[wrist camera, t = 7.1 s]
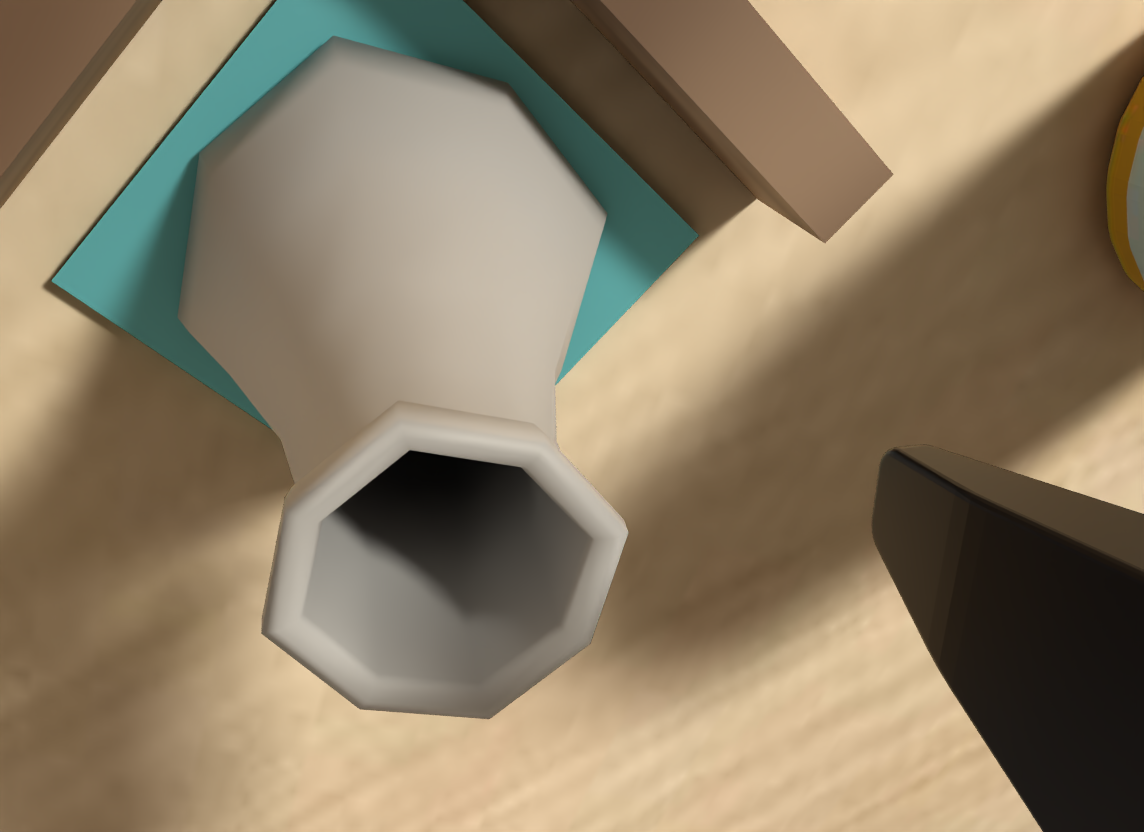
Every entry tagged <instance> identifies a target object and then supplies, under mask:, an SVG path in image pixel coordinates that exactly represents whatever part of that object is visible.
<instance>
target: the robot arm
mask: <svg viewBox="0 0 1144 832" xmlns="http://www.w3.org/2000/svg"><path fill="white" fill-rule="evenodd" d="M872 534H873V538H874V542H875V545H876V547H877V549H878V551H879V553H880V555H881V557H882V559H883V561H884V563H885V565H886V567H887V569H888V571H889V573H890V575H891V577H892V579H893V581H894V583H895V585H896V587H897V589H898V591H899V593H900V595H901V597H902V599H903V601H904V603H905V605H906V607H907V609H908V611H909V613H910V615H911V617H912V619H913V621H914V623H915V625H916V627H917V629H918V631H919V633H920V635H921V637H922V639H923V641H924V643H925V645H926V647H927V649H928V651H929V653H930V655H931V656H932V658H933V660H934V662H935V664H936V666H937V667H938V669H939V671H940V672H941V674H942V676H943V677H944V679H945V681H946V682H947V684H948V686H949V687H950V689H951V690H952V692H953V694H954V695H955V697H956V698H957V700H958V701H959V703H960V704H961V706H962V707H963V709H964V711H965V712H966V714H967V715H968V717H969V718H970V720H971V721H972V723H973V724H974V726H975V728H976V729H977V731H978V732H979V734H980V735H981V737H982V738H983V740H984V741H985V743H986V745H987V746H988V748H989V749H990V751H991V752H992V754H993V755H994V757H995V758H996V760H997V762H998V763H999V765H1000V766H1001V768H1002V769H1003V771H1004V772H1005V774H1006V775H1007V777H1008V778H1009V780H1010V782H1011V783H1012V785H1013V786H1014V788H1015V789H1016V791H1017V792H1018V794H1019V795H1020V797H1021V799H1022V800H1023V802H1024V803H1025V805H1026V806H1027V808H1028V809H1029V811H1030V812H1031V814H1032V816H1033V817H1034V819H1035V820H1036V822H1037V823H1038V825H1039V826H1040V828H1041V829H1042V831H1043V832H1144V514H1142V513H1139V512H1136V511H1132V510H1129V509H1126V508H1123V507H1120V506H1117V505H1114V504H1111V503H1108V502H1104V501H1101V500H1098V499H1095V498H1092V497H1089V496H1086V495H1083V494H1080V493H1077V492H1073V491H1070V490H1067V489H1064V488H1061V487H1058V486H1055V485H1052V484H1049V483H1045V482H1042V481H1039V480H1036V479H1033V478H1030V477H1027V476H1024V475H1021V474H1017V473H1014V472H1011V471H1008V470H1005V469H1002V468H999V467H996V466H993V465H989V464H986V463H983V462H980V461H977V460H974V459H971V458H968V457H965V456H962V455H958V454H955V453H952V452H949V451H946V450H943V449H940V448H937V447H934V446H930V445H914V446H905V447H896V448H892V449H889V450H888V451H887V452H886V453H885V454H884V455H883V457H882V459H881V462H880V466H879V472H878V479H877V486H876V493H875V500H874V507H873V515H872Z"/></svg>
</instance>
